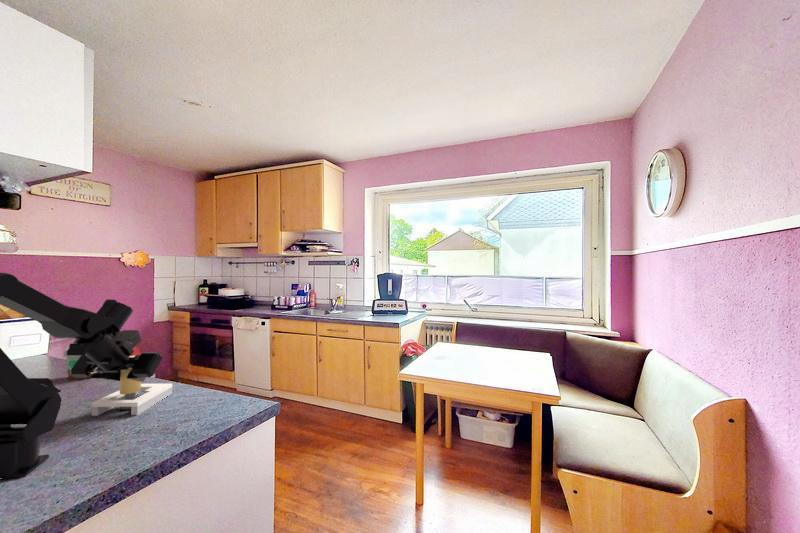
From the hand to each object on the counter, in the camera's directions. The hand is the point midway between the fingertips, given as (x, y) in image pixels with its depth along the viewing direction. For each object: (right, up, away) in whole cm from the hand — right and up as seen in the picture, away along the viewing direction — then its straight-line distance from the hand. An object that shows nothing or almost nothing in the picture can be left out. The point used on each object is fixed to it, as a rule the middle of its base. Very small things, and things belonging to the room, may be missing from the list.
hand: (134, 379), depth 89 cm
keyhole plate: (0, -7, 0) cm, 7 cm away
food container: (-34, -7, +20) cm, 40 cm away
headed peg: (0, -7, -1) cm, 7 cm away
